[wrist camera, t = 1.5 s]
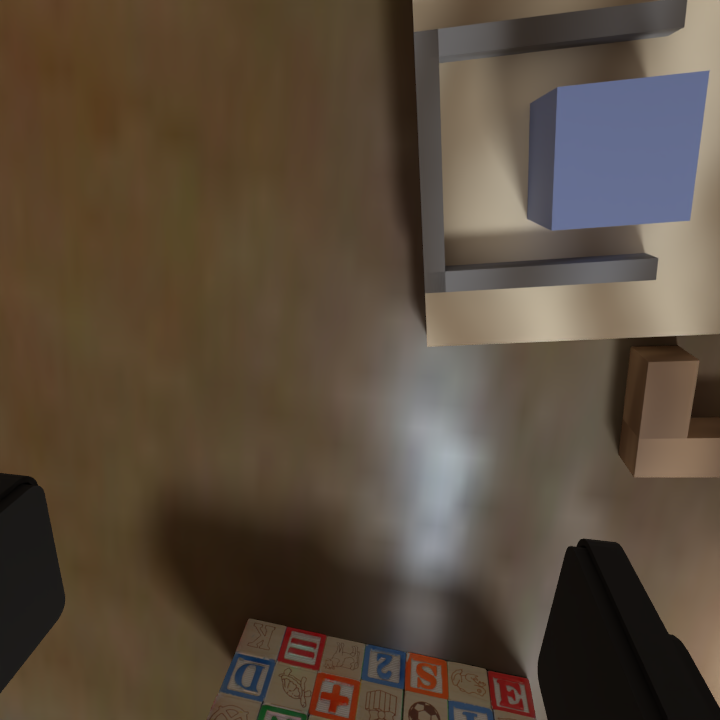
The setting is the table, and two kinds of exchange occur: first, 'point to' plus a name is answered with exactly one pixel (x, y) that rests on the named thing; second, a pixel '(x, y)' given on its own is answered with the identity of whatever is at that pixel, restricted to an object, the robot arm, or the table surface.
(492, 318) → the board
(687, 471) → the walnut crook
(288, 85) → the table surface
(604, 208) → the indigo block
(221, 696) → the stack of blocks
